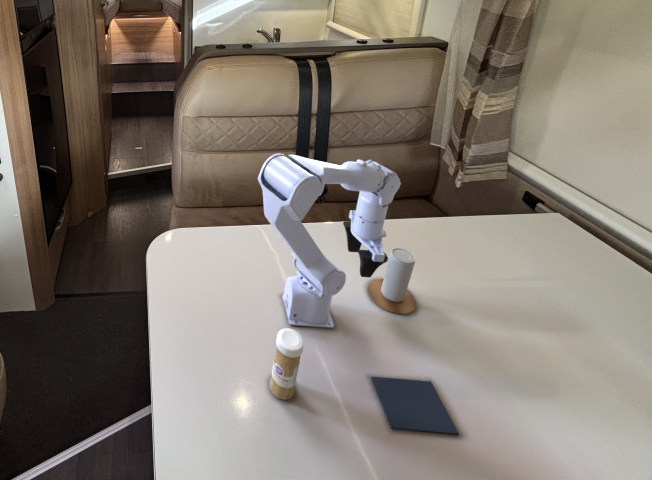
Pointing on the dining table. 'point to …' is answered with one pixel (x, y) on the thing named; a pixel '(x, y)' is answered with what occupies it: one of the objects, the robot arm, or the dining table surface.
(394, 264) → the beverage can
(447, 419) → the slate pad
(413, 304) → the cork coaster
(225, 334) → the dining table surface
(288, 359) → the sprinkles bottle
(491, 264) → the dining table surface
